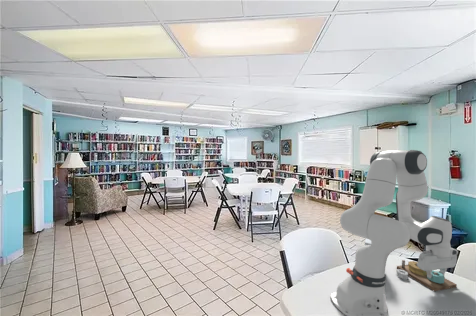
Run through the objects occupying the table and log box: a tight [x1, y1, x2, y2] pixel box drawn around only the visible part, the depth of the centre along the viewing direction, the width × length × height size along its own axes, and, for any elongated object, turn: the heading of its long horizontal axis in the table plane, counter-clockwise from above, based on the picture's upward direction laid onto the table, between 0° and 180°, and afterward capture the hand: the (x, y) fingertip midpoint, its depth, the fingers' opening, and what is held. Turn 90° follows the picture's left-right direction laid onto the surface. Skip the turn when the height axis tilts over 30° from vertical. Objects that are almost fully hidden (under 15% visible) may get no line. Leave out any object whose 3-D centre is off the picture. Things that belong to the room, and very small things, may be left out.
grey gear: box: [395, 269, 409, 280], centre depth 114 cm, size 4×4×2 cm
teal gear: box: [427, 270, 446, 284], centre depth 109 cm, size 6×6×3 cm
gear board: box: [396, 259, 458, 292], centre depth 114 cm, size 14×19×6 cm
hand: (435, 276), depth 109 cm, fingers closed on teal gear, 6 cm apart
